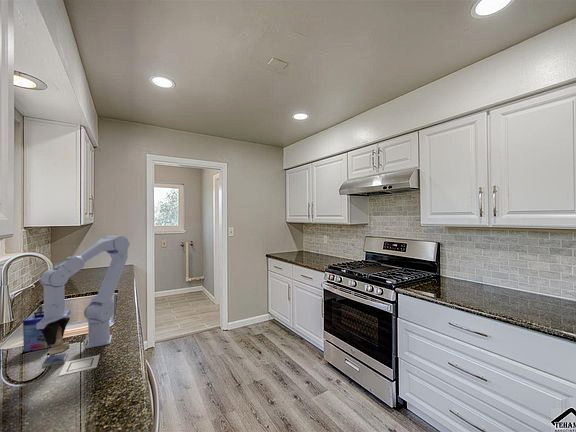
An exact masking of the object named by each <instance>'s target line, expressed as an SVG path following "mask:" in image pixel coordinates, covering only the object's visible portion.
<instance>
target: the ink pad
mask: <svg viewBox="0 0 576 432" xmlns="http://www.w3.org/2000/svg"><path fill="white" fill-rule="evenodd" d="M68 357H69V353H68V352H63V353H59V354H56V355H52V356H50V355H49V356H47V357H46V358H45V360H44V361H43V362H42V364H41V368H45V367H46V368H47V367H52V366H56V364H57V365H60V364H65V363H66V360H67V358H68Z"/></svg>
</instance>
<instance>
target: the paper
mask: <svg viewBox="0 0 576 432" xmlns="http://www.w3.org/2000/svg"><path fill="white" fill-rule="evenodd" d="M100 356H101V354H97V355H96V354H95V355H93V356H88V357H83V358H79V359H74V360H68V361H65V362H64V364H63V367H62V368H61V370H60V373H58V377H61V376H66V375H70V374H76V373H79V372H83V371H88V370H92V369H96V368H97V367H98V363H99V361H100Z"/></svg>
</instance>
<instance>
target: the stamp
mask: <svg viewBox="0 0 576 432" xmlns="http://www.w3.org/2000/svg"><path fill="white" fill-rule="evenodd" d="M61 332H62V328H61V327H60V326H59V327H58V330H57V335H56V342H55V344H54V347H51V348H48V354H49V356H54V355H59V354H64V353H65V352H66V351H67V350H69V349H70V343H69V341H66V342H64V341H63V338H62V334H61Z"/></svg>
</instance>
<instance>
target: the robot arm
mask: <svg viewBox="0 0 576 432" xmlns="http://www.w3.org/2000/svg"><path fill="white" fill-rule="evenodd" d="M130 246H131V244H130V241H129V240H128V238H127V237H126V236H124V235H105V236H103V237H102V238H100V239H98V240H97V242H96V243H94V244H93V245H91V246H90V247H89V248H87V249H85V251H83V252H82V253H81V254H79V255H72V256H68V257H65V258H66V260H64V261H63V262H61V263H60V264H57V265H54V266H53V269H48V270H45V271H44V272H43V273H42V274H41V277H40V278H39V279H38V280H39V283H40V284H41V286H42V287H43V311H44V313H43V314H44V318H43V319H42V320H41V321H40V322H38V323H37V324H36V329H39V330H40V331H41V332H42V333H43V335H44V337H45V339H46V342H47V345H53V344H55V342H56V335H57V330H58V327H59V326H60V327H61V328H62V332H61V334H62V339H63V338H64V335H65V330H66V328H67V325H68V323H69V322H70V320H71V319H70V317H69V316H70V315H71V312H72V311H71V310H72V309H65V308H66V306H65V305H66V299H65V293H66V292H65V291H66V290H65V285H66V284H67V283H68V281H69V279H70V278H71V277H72V276H73V275H75V274H76V273H77V272H79V271H80V270H81V269H83V268H85V266H86V263H87V262H88V261H90V260H92V259H93V258H94V257H96V256H98V255H99V254H101V253H103V252H106V253H107V254H108V255H109V256H110V258H111V260H110V263H109V266H108V268H107V270H106V273H105V275H104V278H103V281H102V283H101V285H100V287H99V290H98V292H97V295H96V296H94V297H93V298H92V299H91V300H90V301H89V304H88V305H87V306H86V307H85V309H84V310H83V316H84V318H85V319H87V322H88V323H87V324H88V325H87V326H88V328H87V329H88V331H87V332H88V335H87V336H88V340H87V341H88V342H87V344H86V346H85V349H90V348H91V349H92V348H95V347H101V346H104V345H105V346H106V345H110V344H111V343H112V342H111V341H112V338H113V334H111V329H110V328H111V326H110V320H111V318H112V317H113V315H114V313H115V311H114V307H115V301H114V299H113V296H114V294H115V291H116V288H117V286H118V284H119V280H120V278H121V276H122V273H123V270H124V268H125V265H126V262H127V260H128V257H129V256H128V255H129V253H128V252H129V251H128V250H129V247H130Z"/></svg>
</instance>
